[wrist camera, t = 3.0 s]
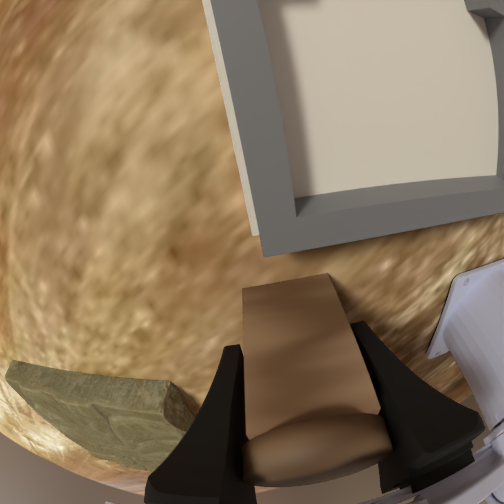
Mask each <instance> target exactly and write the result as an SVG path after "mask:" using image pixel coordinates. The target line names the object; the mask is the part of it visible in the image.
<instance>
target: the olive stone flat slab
mask: <svg viewBox="0 0 504 504" xmlns="http://www.w3.org/2000/svg"><path fill="white" fill-rule="evenodd" d="M5 380H6V381H7V382H8V384H9V385H10V386H11V387H12V388H13V389H14V390H15V391H16V392H17V393H18V394H19V395H20V396H21V397H22V398H23V399H24V400H25V401H26V402H27V403H28V404H29V405H30V406H31V407H32V408H33V409H34V410H35V411H36V412H37V413H38V414H39V415H40V416H42V417H43V418H44V419H45V420H46V421H48V422H49V423H50V424H52V425H53V426H54V427H55V428H57V429H58V430H59V431H60V432H62V433H63V434H64V435H65V436H66V437H68V438H69V439H71V440H72V441H74V442H75V443H77V444H79V445H80V446H82V447H83V448H85V449H86V450H87V451H88V452H89V453H90V454H91V455H93V456H95V457H97V458H99V459H103V460H108V461H111V462H115V463H117V464H120V465H122V466H126V467H132V468H135V469H139V470H145V471H148V470H149V471H151V472H153V471H154V470H155V469H156V468H157V467H158V466H159V465H160V464H161V463H162V462H163V461H164V460H165V459H166V458H167V457H168V456H169V454H170V453H171V452H172V451H173V449H174V448H175V447H176V446H177V445H178V443H179V442H180V441H181V439H182V438H183V436H184V435H185V433H186V432H187V430H188V429H189V427H190V426H191V424H192V423H193V421H194V419H195V416H194V415H193V414H192V413H191V412H190V411H189V409H188V408H187V406H186V404H185V402H184V401H183V400H182V399H181V395H180V393H179V392H178V390H177V388H176V387H175V386H174V385H173V384H172V382H170V381H167V380H148V379H134V378H122V377H112V376H103V375H95V374H87V373H80V372H73V371H66V370H60V369H54V368H49V367H44V366H39V365H34V364H29V363H24V362H20V361H16V360H13V361H12V362H11V363H10V366H9V369H8V370H7V372H6V375H5Z"/></svg>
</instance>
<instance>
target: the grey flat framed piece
mask: <svg viewBox="0 0 504 504" xmlns="http://www.w3.org/2000/svg"><path fill="white" fill-rule="evenodd" d="M202 2H203V7H204V11H205V16H206V20H207V25H208V30H209V34H210V39H211V43H212V48H213V52H214V57H215V62H216V66H217V71H218V75H219V80H220V85H221V89H222V94H223V99H224V103H225V108H226V113H227V117H228V122H229V127H230V131H231V136H232V141H233V145H234V150H235V155H236V159H237V164H238V169H239V174H240V178H241V183H242V188H243V193H244V197H245V202H246V207H247V212H248V216H249V221H250V226H251V231H252V235H253V236H256V235H260V240H261V245H262V251H263V256H264V257H270V256H276V255H281V254H287V253H292V252H298V251H303V250H309V249H314V248H320V247H325V246H331V245H336V244H341V243H347V242H352V241H358V240H363V239H368V238H374V237H379V236H384V235H390V234H395V233H400V232H405V231H411V230H416V229H421V228H426V227H432V226H437V225H442V224H447V223H452V222H457V221H462V220H468V219H473V218H478V217H483V216H488V215H493V214H498V213H503V212H504V0H202Z"/></svg>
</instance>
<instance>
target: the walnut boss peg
mask: <svg viewBox="0 0 504 504" xmlns="http://www.w3.org/2000/svg"><path fill="white" fill-rule="evenodd" d="M242 299H243V344H244V382H245V415H246V435H247V437H248V439H249V441H247V442H246V443H245V444H244V445H243V447H242V464H243V481H244V482H245V483H247V484H250V485H254V486H261V487H292V486H302V485H309V484H315V483H320V482H325V481H329V480H333V479H337V478H341V477H344V476H348V475H351V474H353V473H356V472H359V471H361V470H364V469H366V468H368V467H370V466H373V465H375V464H377V463H378V462H380V461H382V460H384V459H385V458H386V457H388V456H389V455H390V454H391V453H392V452H393V447H392V444H391V441H390V437H389V434H388V431H387V428H386V425H385V421H384V419H383V418H382V417H381V416H379V415H378V413H379V411H380V409H381V408H380V405H379V402H378V399H377V396H376V393H375V390H374V387H373V384H372V382H371V379H370V376H369V373H368V371H367V368H366V365H365V363H364V360H363V357H362V355H361V352H360V349H359V347H358V344H357V342H356V339H355V337H354V334H353V332H352V329H351V327H350V324H349V322H348V319H347V317H346V314H345V312H344V309H343V307H342V305H341V302H340V300H339V298H338V295H337V293H336V291H335V288H334V286H333V284H332V281H331V279H330V277H329V275H328V273H326V274H321V275H315V276H310V277H305V278H300V279H294V280H289V281H283V282H278V283H272V284H266V285H261V286H255V287H249V288H243V289H242Z"/></svg>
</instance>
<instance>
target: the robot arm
mask: <svg viewBox="0 0 504 504" xmlns="http://www.w3.org/2000/svg"><path fill="white" fill-rule="evenodd" d="M350 327H351V329H352V332H353V334H354V337H355V339H356V342H357V344H358V347H359V349H360V352H361V355H362V357H363V360H364V363H365V365H366V368H367V371H368V373H369V376H370V379H371V382H372V384H373V387H374V390H375V393H376V396H377V399H378V402H379V405H380V408H381V409H380V411H379V413H378V415H379V416H381V417H382V418H383V419H384V421H385V425H386V428H387V431H388V434H389V437H390V441H391V444H392V447H393V452H392V453H391V454H390V455H389V456H388V457H386V458H385V459H384V460H382V461H380V462H378V466H379V475H380V487H381V491H382V494H383V493H386V492H389V491H392V490H395V489H397V488H400V490H398V491H396V492H393V493H390V494H387V495H385V496H382V497H379V498H376V499H372V500H370V501H366V502H362V503H359V504H397V503H400V502H402V501H405V500H407V499H410V498H412V497H415V496H416V497H415V498H414V500H413V502H410V503H407V504H478V503H480V502H481V501H482V500H484V499H485V500H486V502H487V503H488V504H504V259H502V260H499V261H496V262H493V263H491V264H488V265H485V266H482V267H479V268H476V269H473V270H470V271H467V272H464V273H461V274H459V275H457V276H456V277H455V278H454V279H453V282H452V285H451V288H450V291H449V295H448V298H447V301H446V304H445V307H444V310H443V313H442V315H441V318H440V321H439V324H438V326H437V329H436V331H435V334H434V336H433V339H432V341H431V344H430V346H429V348H428V351H427V353H426V357H427V358H428V359H432V358H435V357H437V356H439V355H442V354H444V353H447V352H449V351H450V352H451V354H452V356H453V357H454V359H455V361H456V363H457V365H458V366H459V368H460V370H461V372H462V374H463V376H464V377H465V379H466V381H467V383H468V385H469V387H470V389H471V391H472V393H473V395H474V397H475V399H476V401H477V403H478V405H479V407H480V410H481V412H482V414H483V416H484V418H485V421H486V423H487V425H488V428H489V430H490V431H491V430H493V429H495V428H496V429H495V430H494V431H493V432H491V433H490V434H489V435H488V436H487V437H485V438H484V439H483V440H484V443H485V446H484V447H482V448H481V449H479V450H478V451H476V452H475V453H473V454H472V452H471V448H473V444H472V442H471V441H472V440H473V439H475V438H476V437H477V436H478V435H480V434H481V433H482V432H483V431H484V430H485V426H484V423H483V421H482V419H481V417H480V415H479V413H478V412H476V411H474V410H472V409H469V408H467V407H465V406H463V405H461V404H459V403H457V402H455V401H453V400H452V399H450V398H448V397H447V396H445V395H443V394H442V393H440V392H439V391H437V390H436V389H434V388H433V387H431V386H430V385H428V384H427V383H426V382H424V381H423V380H422V379H421V378H419V377H418V376H417V375H416V374H414V373H413V372H412V371H411V370H410V369H409V368H408V367H406V366H405V365H404V364H403V363H402V362H401V361H400V360H399V359H398V358H397V357H396V356H395V355H394V354H393V353H392V352H391V351H390V350H389V349H388V348H387V347H386V346H385V345H384V343H383V342H382V341H381V340H380V339H379V338H378V337H377V336H376V334H375V333H374V332H373V331H372V330H371V329H370V327H369V326H368V325H367V324H366V323H365V322H364V321H360V322H356V323H352V324H350ZM247 441H249V439H248V437H247V435H246V415H245V382H244V356H243V353H242V350H241V347H240V344H238V345H230V346H225V347H224V350H223V353H222V357H221V360H220V363H219V366H218V369H217V372H216V375H215V377H214V380H213V382H212V385H211V387H210V389H209V392H208V394H207V396H206V398H205V400H204V402H203V404H202V406H201V408H200V410H199V412H198V414H197V416H196V417H195V419H194V421H193V423H192V424H191V426H190V427H189V429H188V430H187V432H186V433H185V435H184V436H183V438H182V439H181V441H180V442H179V443H178V445H177V446H176V447H175V448H174V449H173V451H172V452H171V453H170V454H169V456H168V457H167V458H166V459H165V460H164V461H163V462H162V463H161V464H160V465H159V466H158V467H157V468H156V469H155V470H154V471H153V472H152V473H151V474H150V475H149V477H148V480H147V483H146V487H145V497H144V503H145V504H257V501H256V494H255V487H254V485H250V484H247V483H245V482H244V481H243V464H242V447H243V445H244V444H245V443H246V442H247ZM105 504H118V503H114V502H110V501H105Z"/></svg>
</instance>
